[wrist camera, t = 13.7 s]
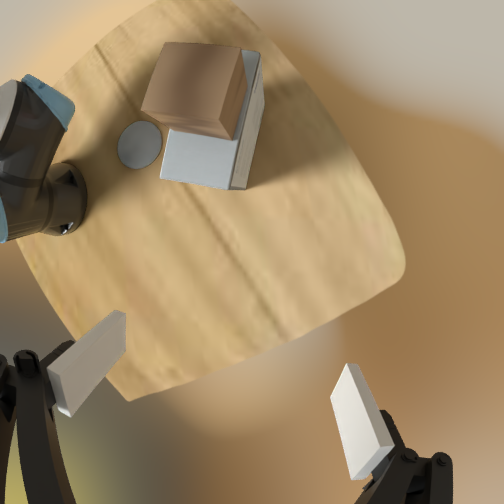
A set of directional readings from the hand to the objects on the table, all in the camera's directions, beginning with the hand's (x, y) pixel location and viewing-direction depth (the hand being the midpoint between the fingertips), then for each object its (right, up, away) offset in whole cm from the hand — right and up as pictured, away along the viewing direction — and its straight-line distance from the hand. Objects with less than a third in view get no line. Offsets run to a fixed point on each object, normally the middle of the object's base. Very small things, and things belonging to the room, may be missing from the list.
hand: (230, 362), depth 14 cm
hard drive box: (-2, +24, +29) cm, 38 cm away
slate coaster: (-19, +26, +30) cm, 44 cm away
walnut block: (-3, +20, +9) cm, 22 cm away
